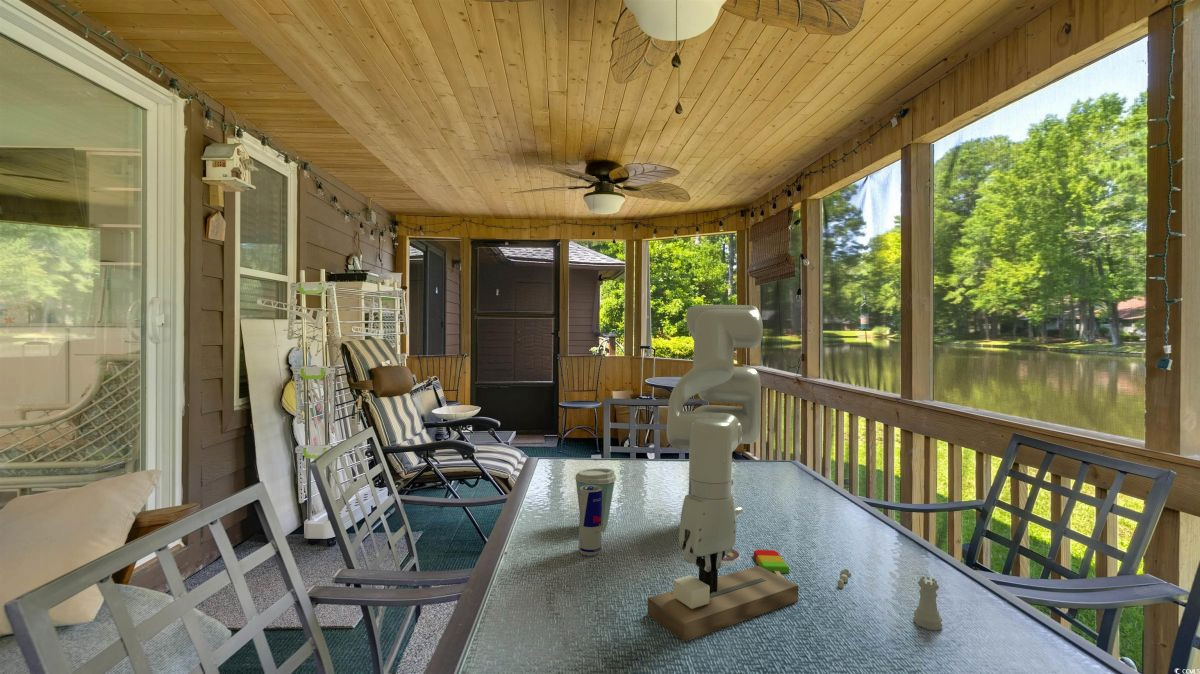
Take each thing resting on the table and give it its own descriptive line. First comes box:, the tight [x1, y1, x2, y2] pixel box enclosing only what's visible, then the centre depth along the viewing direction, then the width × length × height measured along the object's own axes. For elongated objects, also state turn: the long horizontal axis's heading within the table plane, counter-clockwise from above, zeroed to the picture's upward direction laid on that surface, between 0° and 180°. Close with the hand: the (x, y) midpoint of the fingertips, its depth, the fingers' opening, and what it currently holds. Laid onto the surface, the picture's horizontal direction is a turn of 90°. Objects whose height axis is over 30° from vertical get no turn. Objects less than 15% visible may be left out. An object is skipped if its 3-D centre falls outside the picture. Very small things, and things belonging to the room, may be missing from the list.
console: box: [647, 565, 799, 643], centre depth 101 cm, size 28×10×3 cm, turn 121°
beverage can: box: [578, 485, 603, 557], centre depth 125 cm, size 5×5×15 cm
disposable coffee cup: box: [574, 467, 617, 533], centre depth 141 cm, size 11×11×15 cm
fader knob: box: [672, 574, 710, 609], centre depth 97 cm, size 4×5×3 cm
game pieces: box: [836, 568, 852, 590], centre depth 113 cm, size 8×2×2 cm, turn 146°
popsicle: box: [753, 549, 790, 578], centre depth 118 cm, size 6×15×2 cm, turn 178°
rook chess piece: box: [912, 575, 943, 632], centre depth 96 cm, size 4×4×8 cm
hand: (707, 589), depth 99 cm, fingers closed
